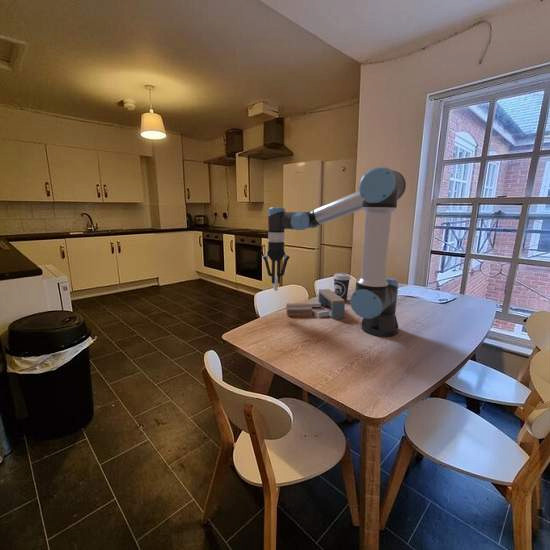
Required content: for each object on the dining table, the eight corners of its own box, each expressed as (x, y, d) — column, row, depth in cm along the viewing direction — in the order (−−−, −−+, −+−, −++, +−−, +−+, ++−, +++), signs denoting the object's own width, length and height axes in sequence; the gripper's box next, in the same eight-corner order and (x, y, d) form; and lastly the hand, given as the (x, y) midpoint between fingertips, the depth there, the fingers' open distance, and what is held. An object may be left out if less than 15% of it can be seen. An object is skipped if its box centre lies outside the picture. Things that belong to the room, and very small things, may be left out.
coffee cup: (351, 302, 162) (352, 276, 159) (333, 302, 162) (334, 276, 159) (347, 297, 171) (348, 272, 168) (330, 297, 171) (331, 272, 168)
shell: (311, 317, 142) (312, 309, 141) (287, 317, 142) (287, 309, 141) (309, 310, 151) (309, 303, 150) (286, 310, 151) (286, 303, 150)
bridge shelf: (343, 317, 140) (344, 300, 138) (319, 319, 138) (320, 301, 136) (328, 304, 160) (329, 289, 158) (307, 305, 157) (307, 290, 155)
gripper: (288, 240, 141) (287, 287, 146) (261, 240, 139) (261, 288, 144) (291, 242, 134) (290, 291, 139) (263, 242, 131) (263, 292, 137)
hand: (275, 289), depth 142 cm, fingers closed
